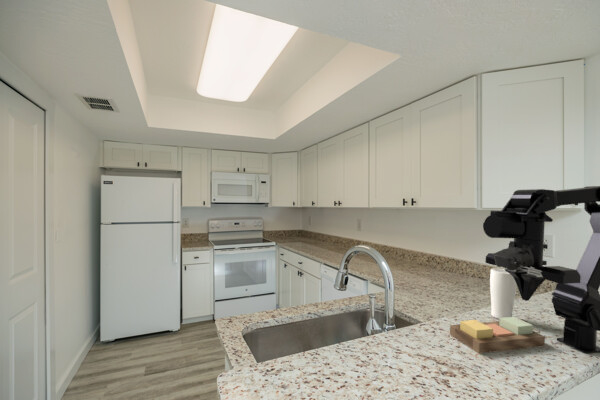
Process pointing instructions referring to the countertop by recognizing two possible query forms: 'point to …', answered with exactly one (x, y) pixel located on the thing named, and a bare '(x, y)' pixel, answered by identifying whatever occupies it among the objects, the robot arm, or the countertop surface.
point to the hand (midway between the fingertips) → (525, 300)
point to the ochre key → (476, 329)
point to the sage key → (516, 325)
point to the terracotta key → (499, 331)
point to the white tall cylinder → (502, 293)
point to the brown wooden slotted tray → (497, 340)
